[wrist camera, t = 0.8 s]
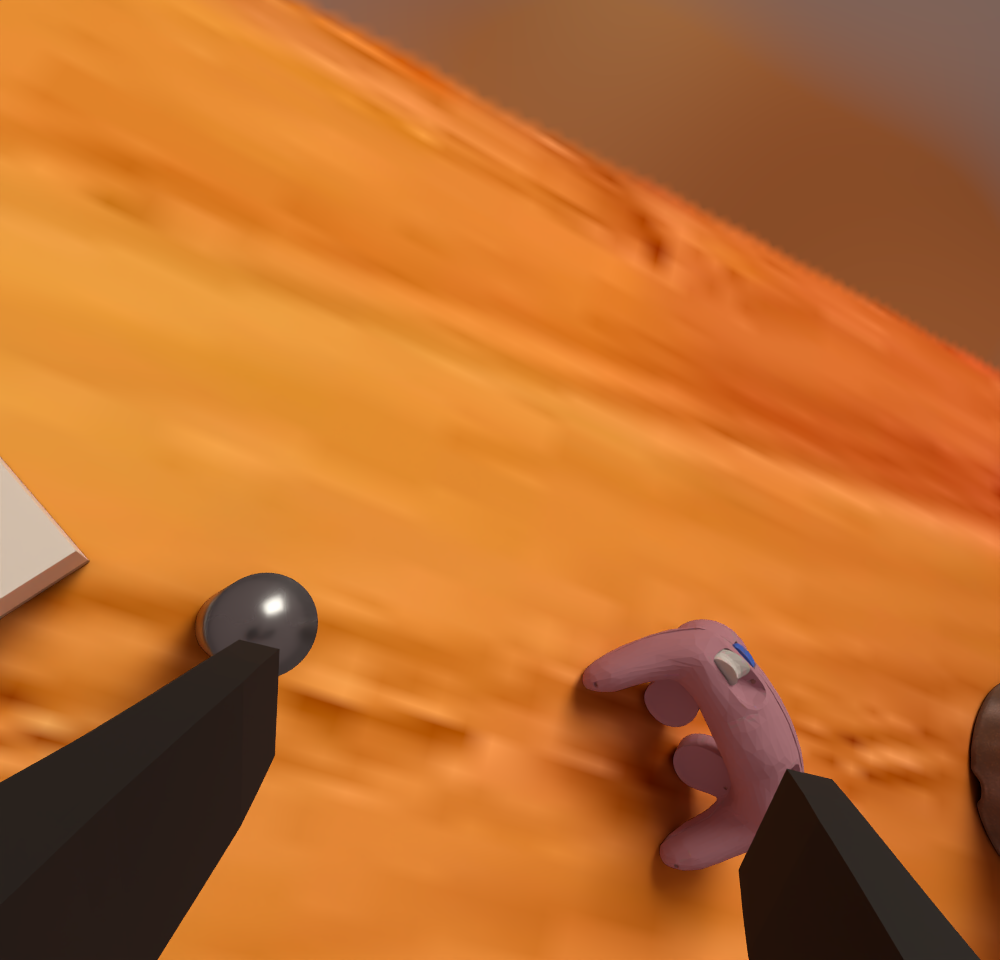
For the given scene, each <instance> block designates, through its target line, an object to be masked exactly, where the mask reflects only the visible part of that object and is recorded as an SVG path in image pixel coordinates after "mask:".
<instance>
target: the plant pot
mask: <svg viewBox="0 0 1000 960" xmlns="http://www.w3.org/2000/svg"><path fill="white" fill-rule="evenodd" d="M971 769H972V771H973V773H974V774H975V776H976V777H977V778H978V780H979V781H980V784H981V789H982V794H981V799H980V800H979V802H978V803H977V807H978V811H979V814H980V818H981V820H982V822H983V825H984V827H985V830H986V832H987V834H988V836H989V838H990V840H991V842H992V844H993V846H994V848H995V849H996V851H997V853H998V854H999V855H1000V684H998V685H997V686H995V687H994V688H993V689H992V690H991V691H990V693H989V694H988V696H987V697H986V699H985V700H984V702H983V704H982V706H981V708H980V711H979V714H978V716H977V720H976V724H975V728H974V733H973V738H972V746H971Z"/></svg>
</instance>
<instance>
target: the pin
mask: <svg viewBox="0 0 1000 960" xmlns="http://www.w3.org/2000/svg"><path fill="white" fill-rule="evenodd" d="M317 627H318V618H317V611H316V607H315V604H314V602H313V600H312V598H311V596H310V595H309V593H308V592H307V591H306V590H305V588H304V587H303V586H301V585H300V584H299V583H298V582H296V581H295V580H293V579H291V578H289V577H287V576H284V575H280V574H275V573H258V574H254V575H250V576H247V577H244V578H242V579H240V580H238V581H236V582H235V583H233V584H231V585H230V586H228V587H226V588H225V589H223V590H221V591H220V592H218V593H216V594H215V595H213V596H212V597H210V598H209V599H208V600H207V601H206V602H205V603H204V604H203V606H202V607H201V609H200V611H199V612H198V615H197V618H196V622H195V633H196V638H197V641H198V643H199V645H200V646H201V648H202V649H203V650H204V651H205V652H206V653H207V654H208V655H210V656H213V655H214V654H216V653H218V652H219V651H221V650H223V649H224V648H226V647H228V646H229V645H231V644H233V643H234V642H236V641H237V640H244V641H248V642H252V643H256V644H260V645H265V646H269V647H273V648H277V649H280V652H279V674H278V676H280V675H282V674H284V673H286V672H288V671H290V670H291V669H293V668H294V667H295V666H297V665H298V664H299V663H300V662H301V661H302V660H303V659H304V658H305V656H306V655H307V654H308V652H309V651H310V649H311V647H312V645H313V643H314V640H315V637H316V633H317Z"/></svg>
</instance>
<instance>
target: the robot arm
mask: <svg viewBox="0 0 1000 960" xmlns="http://www.w3.org/2000/svg"><path fill="white" fill-rule="evenodd" d="M279 652H280V649H277V648H273V647H269V646H265V645H260V644H256V643H252V642H248V641H244V640H237V641H236V642H234V643H233V644H231V645H229V646H228V647H226V648H224V649H223V650H221V651H219V652H218V653H216V654H214V655H213V656H211V657H210V658H208V659H207V660H205V661H203V662H202V663H200V664H199V665H197V666H195V667H194V668H192V669H191V670H189V671H188V672H186V673H184V674H183V675H181V676H180V677H178V678H177V679H175V680H173V681H172V682H170V683H169V684H167V685H165V686H164V687H162V688H161V689H159V690H157V691H156V692H154V693H153V694H151V695H150V696H148V697H146V698H145V699H143V700H142V701H140V702H138V703H137V704H135V705H133V706H132V707H130V708H128V709H127V710H125V711H123V712H122V713H120V714H118V715H117V716H115V717H113V718H112V719H110V720H109V721H107V722H105V723H104V724H102V725H100V726H99V727H97V728H95V729H94V730H92V731H90V732H89V733H87V734H85V735H84V736H82V737H80V738H79V739H77V740H75V741H73V742H72V743H70V744H68V745H67V746H65V747H63V748H61V749H59V750H58V751H56V752H54V753H52V754H50V755H49V756H47V757H45V758H43V759H42V760H40V761H38V762H36V763H34V764H33V765H31V766H29V767H27V768H25V769H24V770H22V771H20V772H18V773H16V774H15V775H13V776H11V777H9V778H8V779H6V780H4V781H2V782H0V960H158V958H159V956H160V955H161V953H162V952H163V950H164V948H165V947H166V945H167V944H168V942H169V940H170V939H171V937H172V936H173V934H174V932H175V931H176V929H177V928H178V926H179V924H180V923H181V921H182V920H183V918H184V917H185V915H186V913H187V912H188V910H189V909H190V907H191V905H192V904H193V902H194V901H195V899H196V897H197V896H198V894H199V893H200V891H201V889H202V888H203V886H204V885H205V883H206V881H207V880H208V878H209V877H210V875H211V873H212V872H213V870H214V868H215V867H216V865H217V864H218V862H219V860H220V859H221V857H222V856H223V854H224V852H225V851H226V849H227V847H228V846H229V844H230V843H231V841H232V839H233V838H234V836H235V834H236V833H237V831H238V829H239V828H240V826H241V824H242V822H243V820H244V818H245V816H246V814H247V812H248V810H249V808H250V806H251V804H252V802H253V800H254V798H255V796H256V794H257V792H258V790H259V788H260V786H261V784H262V781H263V779H264V777H265V775H266V773H267V771H268V769H269V767H270V764H271V762H272V760H273V758H274V756H275V739H276V718H277V696H278V674H279ZM739 878H740V888H741V899H742V909H743V918H744V927H745V935H746V943H747V951H748V957H749V960H980V959H979V957H978V956H977V955H976V954H975V953H974V951H973V950H972V949H971V948H970V947H969V946H968V944H967V943H966V942H965V941H964V940H963V938H962V937H961V936H960V935H959V933H958V932H957V931H956V930H955V929H954V927H953V926H952V925H951V924H950V923H949V921H948V920H947V919H946V918H945V917H944V915H943V914H942V913H941V912H940V911H939V909H938V908H937V907H936V906H935V904H934V903H933V902H932V901H931V900H930V898H929V897H928V896H927V895H926V893H925V892H924V891H923V890H922V889H921V887H920V886H919V885H918V884H917V882H916V881H915V880H914V879H913V877H912V876H911V875H910V874H909V872H908V871H907V870H906V869H905V867H904V866H903V865H902V864H901V863H900V861H899V860H898V859H897V858H896V856H895V855H894V854H893V853H892V851H891V850H890V849H889V848H888V846H887V845H886V844H885V843H884V841H883V840H882V839H881V838H880V837H879V835H878V834H877V833H876V832H875V830H874V829H873V828H872V827H871V825H870V824H869V823H868V822H867V820H866V819H865V818H864V817H863V816H862V814H861V813H860V812H859V811H858V809H857V808H856V807H855V806H854V805H853V803H852V802H851V801H850V800H849V799H848V797H847V796H846V795H845V794H844V793H843V791H842V790H841V789H840V788H839V787H838V786H837V784H836V783H835V782H834V781H833V780H832V779H828V778H824V777H820V776H816V775H811V774H807V773H803V772H799V771H794V770H790V769H786V771H785V773H784V775H783V778H782V780H781V782H780V784H779V786H778V788H777V790H776V792H775V794H774V796H773V799H772V801H771V803H770V805H769V807H768V809H767V811H766V813H765V815H764V817H763V820H762V822H761V824H760V826H759V828H758V830H757V832H756V834H755V836H754V839H753V841H752V843H751V845H750V847H749V849H748V851H747V853H746V855H745V857H744V860H743V862H742V864H741V866H740V868H739Z"/></svg>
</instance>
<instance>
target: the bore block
mask: <svg viewBox="0 0 1000 960" xmlns="http://www.w3.org/2000/svg"><path fill="white" fill-rule="evenodd" d="M88 562H89V560H88V559H87V558H86V556H85V555H84V554H83V553H82V552H81V551H80V549H79V548H78V547H77V546H76V545H75V543H74V542H73V541H72V540H71V539H70V538H69V536H68V535H67V534H66V533H65V532H64V531H63V529H62V528H61V527H60V526H59V525H58V524H57V522H56V521H55V520H54V519H53V518H52V517H51V515H50V514H49V513H48V512H47V511H46V510H45V508H44V507H43V506H42V505H41V504H40V503H39V501H38V500H37V499H36V498H35V497H34V495H33V494H32V493H31V492H30V491H29V490H28V488H27V487H26V486H25V485H24V484H23V483H22V481H21V480H20V479H19V478H18V477H17V476H16V474H15V473H14V472H13V471H12V470H11V469H10V467H9V466H8V465H7V464H6V463H5V462H4V460H3V459H2V458H1V457H0V619H1V618H3V617H4V616H6V615H7V614H9V613H10V612H12V611H13V610H15V609H16V608H18V607H20V606H21V605H23V604H24V603H26V602H27V601H29V600H30V599H32V598H34V597H35V596H37V595H38V594H40V593H41V592H43V591H44V590H46V589H47V588H49V587H51V586H52V585H54V584H55V583H57V582H58V581H60V580H61V579H63V578H65V577H66V576H68V575H69V574H71V573H72V572H74V571H75V570H77V569H79V568H80V567H82V566H83V565H85V564H86V563H88Z"/></svg>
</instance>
